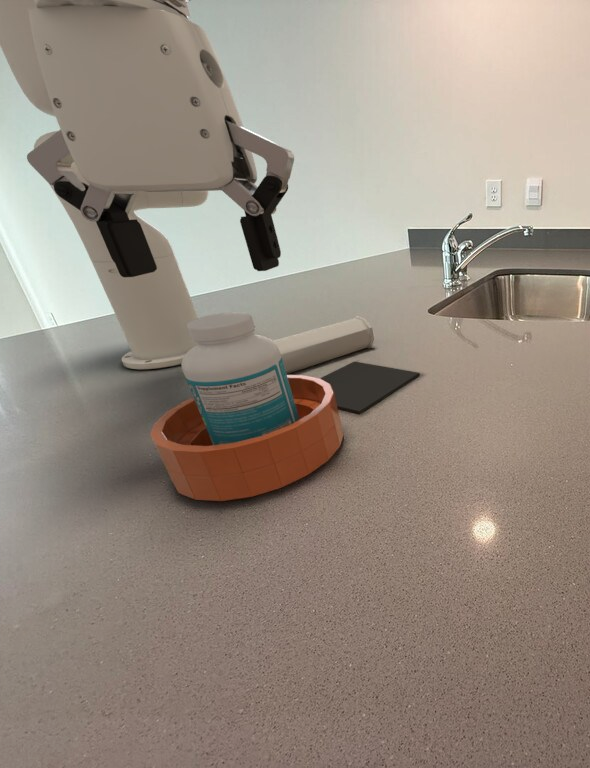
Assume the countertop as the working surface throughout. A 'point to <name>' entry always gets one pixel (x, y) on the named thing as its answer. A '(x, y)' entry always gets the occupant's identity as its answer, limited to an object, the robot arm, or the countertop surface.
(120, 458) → the countertop surface
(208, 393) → the pill bottle
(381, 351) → the countertop surface
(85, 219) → the robot arm
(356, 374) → the coaster
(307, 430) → the bowl
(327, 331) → the tube
